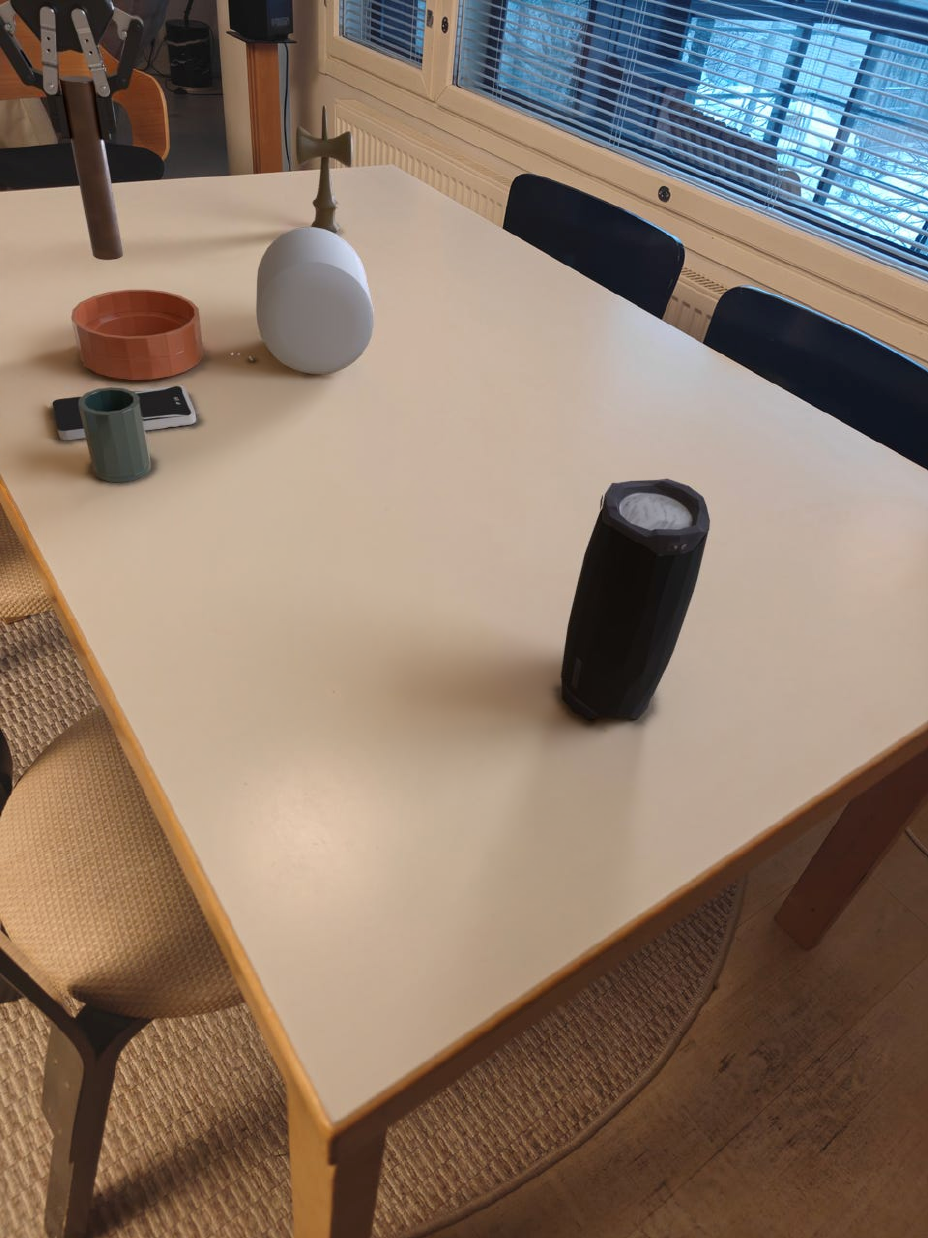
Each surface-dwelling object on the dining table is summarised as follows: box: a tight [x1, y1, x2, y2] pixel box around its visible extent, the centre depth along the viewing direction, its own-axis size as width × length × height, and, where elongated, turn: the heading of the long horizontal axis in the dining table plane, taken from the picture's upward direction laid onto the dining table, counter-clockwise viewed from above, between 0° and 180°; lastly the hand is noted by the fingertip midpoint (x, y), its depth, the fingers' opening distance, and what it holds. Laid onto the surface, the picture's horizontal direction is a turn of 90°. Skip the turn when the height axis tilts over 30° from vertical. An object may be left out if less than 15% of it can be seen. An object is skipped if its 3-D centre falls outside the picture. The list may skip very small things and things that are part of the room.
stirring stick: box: [59, 74, 124, 261], centre depth 85 cm, size 3×3×16 cm
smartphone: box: [51, 385, 197, 442], centre depth 101 cm, size 8×1×15 cm
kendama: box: [295, 105, 354, 234], centre depth 149 cm, size 6×10×20 cm, turn 98°
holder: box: [79, 386, 152, 483], centre depth 90 cm, size 6×6×8 cm
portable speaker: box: [560, 478, 711, 721], centre depth 68 cm, size 9×9×20 cm
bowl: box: [71, 289, 205, 381], centre depth 111 cm, size 15×15×6 cm
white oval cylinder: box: [230, 226, 375, 375], centre depth 116 cm, size 19×15×25 cm
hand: (86, 136), depth 83 cm, fingers closed on stirring stick, 3 cm apart
